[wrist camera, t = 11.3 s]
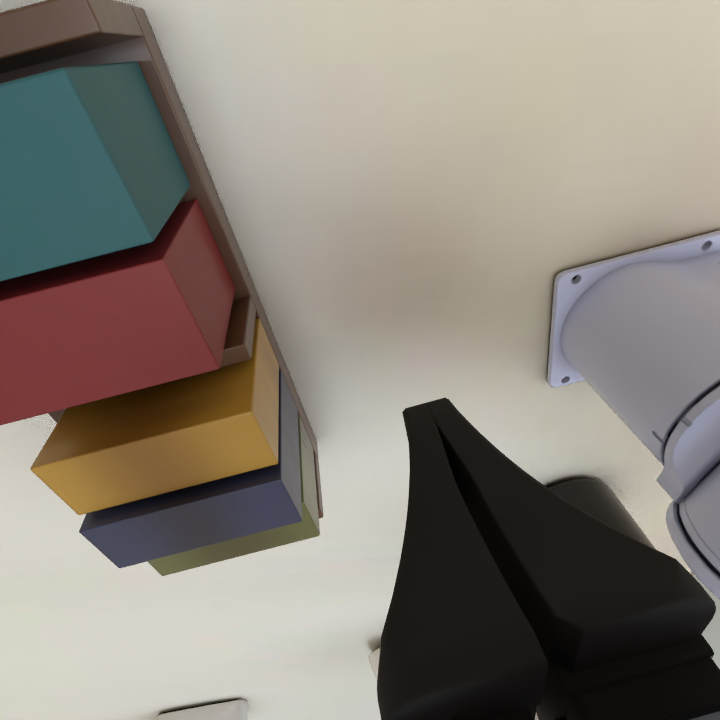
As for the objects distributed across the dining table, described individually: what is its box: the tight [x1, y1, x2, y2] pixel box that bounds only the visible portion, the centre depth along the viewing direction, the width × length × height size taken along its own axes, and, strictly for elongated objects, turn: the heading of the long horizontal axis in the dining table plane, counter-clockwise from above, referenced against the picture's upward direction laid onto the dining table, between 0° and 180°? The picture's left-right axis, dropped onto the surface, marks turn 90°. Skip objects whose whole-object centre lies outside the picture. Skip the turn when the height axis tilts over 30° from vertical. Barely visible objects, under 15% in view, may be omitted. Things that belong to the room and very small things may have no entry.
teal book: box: [0, 61, 190, 282], centre depth 13 cm, size 8×4×6 cm, turn 102°
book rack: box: [0, 0, 323, 576], centre depth 18 cm, size 10×22×8 cm, turn 12°
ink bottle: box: [548, 479, 713, 658], centre depth 32 cm, size 10×9×12 cm
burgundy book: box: [0, 199, 235, 425], centre depth 16 cm, size 8×4×6 cm, turn 102°
